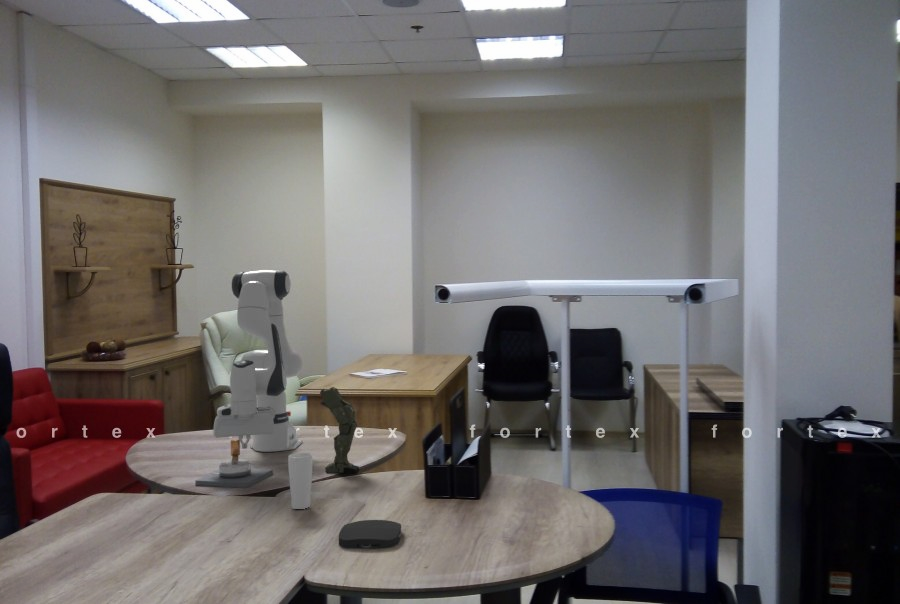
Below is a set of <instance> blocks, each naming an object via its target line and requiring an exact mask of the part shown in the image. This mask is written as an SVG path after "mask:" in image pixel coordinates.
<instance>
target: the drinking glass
mask: <svg viewBox="0 0 900 604" xmlns="http://www.w3.org/2000/svg"><path fill="white" fill-rule="evenodd" d="M287 459H288V460H287V461H288V462H287V469H288V479H289V491H290V501H291V502H290V503H291V506H290V507H291V509H293V510H295V509H304V508H307V509H309V508H310V507H311V502H312V501H311V497H312V496H311V495H312V484H313V483H312V482H313V469H314V468H313V465H314V463H313V454H312V453H309V452H295V453H291V454H289V455H288V458H287ZM308 507H309V508H308ZM304 510H305V509H304Z"/></svg>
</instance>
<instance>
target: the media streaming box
mask: <svg viewBox="0 0 900 604" xmlns="http://www.w3.org/2000/svg"><path fill="white" fill-rule="evenodd" d="M401 537H402V524H401V523H399V522H396V521H392V520H387V519H365V520H359V521H357V520H356V521H353V522H350V523H346V524H344V525H343V526H342V528H341V529H340V531H339V534H338V546H339V547H341V548H344V549H387V548H389V549H390V548H393V547H396V546H397V545H398V544H399V543H400V540H401Z"/></svg>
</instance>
